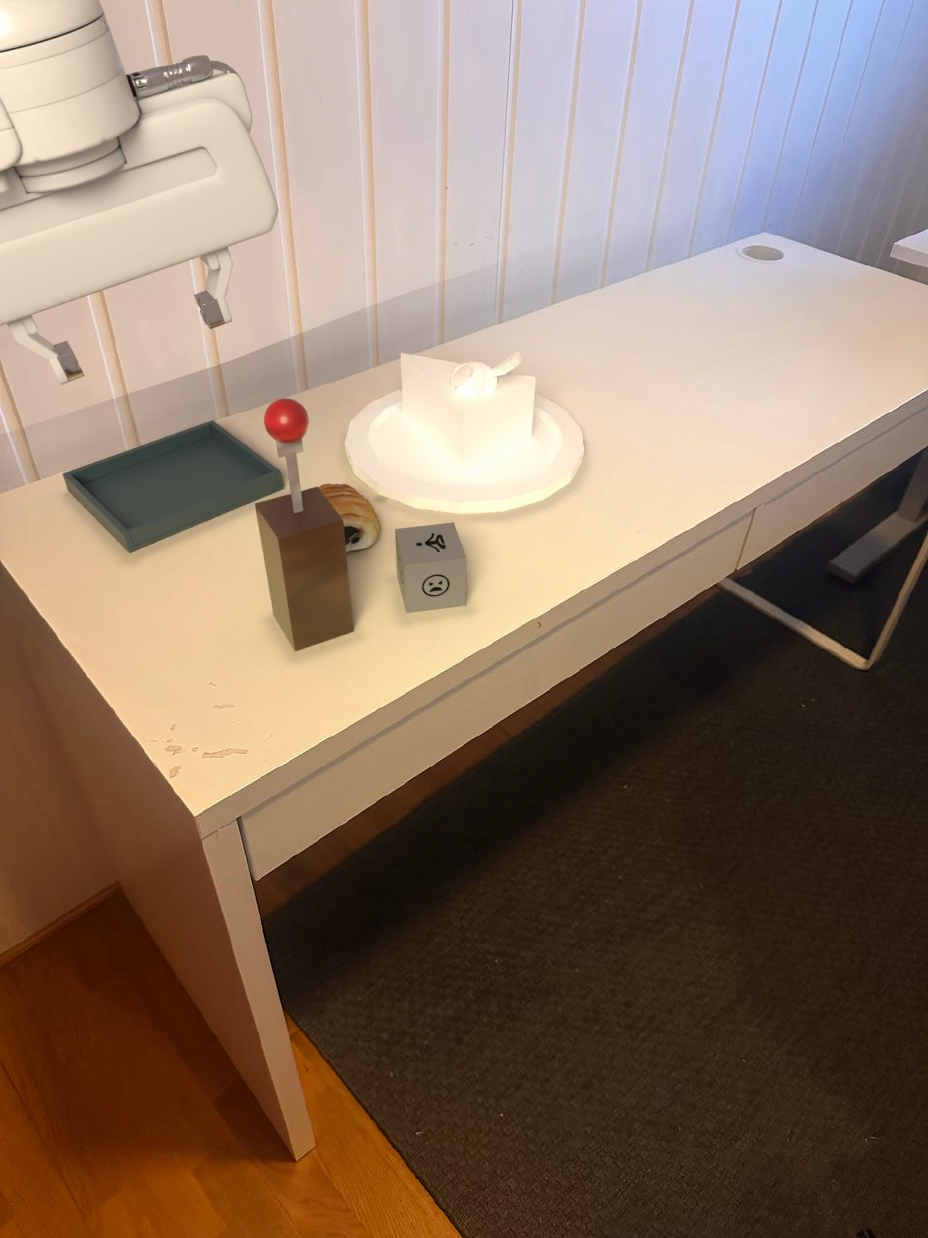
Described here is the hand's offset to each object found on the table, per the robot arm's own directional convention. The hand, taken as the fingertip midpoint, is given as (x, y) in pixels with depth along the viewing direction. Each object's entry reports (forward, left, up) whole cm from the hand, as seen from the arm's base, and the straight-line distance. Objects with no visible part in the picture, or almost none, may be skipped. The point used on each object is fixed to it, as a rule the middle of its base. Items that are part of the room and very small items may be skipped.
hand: (146, 349), depth 55 cm
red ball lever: (+7, -3, -25) cm, 26 cm away
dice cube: (+17, -6, -25) cm, 31 cm away
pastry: (+16, +6, -25) cm, 30 cm away
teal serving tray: (+8, +22, -25) cm, 34 cm away
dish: (+35, +10, -25) cm, 44 cm away
